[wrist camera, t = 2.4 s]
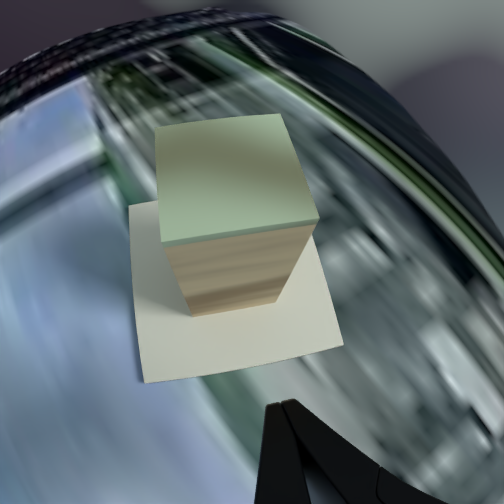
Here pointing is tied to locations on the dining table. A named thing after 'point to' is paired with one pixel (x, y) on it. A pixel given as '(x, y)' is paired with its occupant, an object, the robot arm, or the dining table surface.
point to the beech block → (231, 210)
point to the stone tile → (221, 315)
